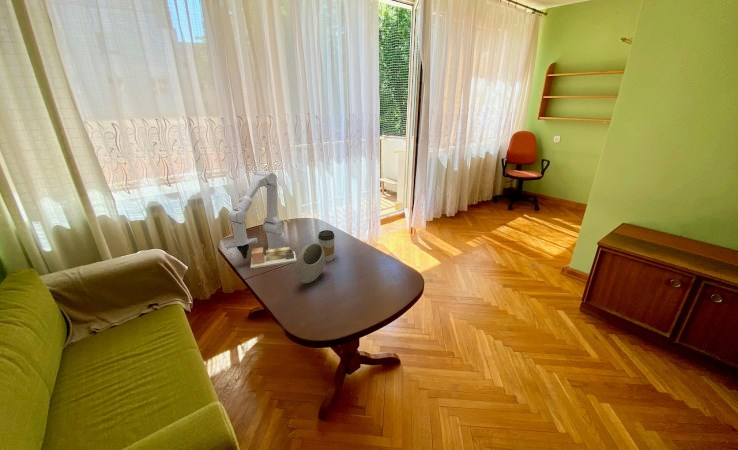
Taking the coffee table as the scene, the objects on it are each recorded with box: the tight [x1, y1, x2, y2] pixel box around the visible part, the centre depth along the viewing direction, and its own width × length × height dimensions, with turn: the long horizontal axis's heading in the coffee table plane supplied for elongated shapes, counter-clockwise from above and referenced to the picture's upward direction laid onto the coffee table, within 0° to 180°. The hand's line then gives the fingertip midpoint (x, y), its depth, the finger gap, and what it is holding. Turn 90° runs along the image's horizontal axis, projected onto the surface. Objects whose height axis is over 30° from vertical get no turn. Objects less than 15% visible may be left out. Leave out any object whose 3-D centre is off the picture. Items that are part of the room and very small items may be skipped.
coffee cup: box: [317, 229, 335, 263], centre depth 154 cm, size 8×8×15 cm
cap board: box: [250, 248, 297, 269], centre depth 154 cm, size 22×10×4 cm, turn 108°
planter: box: [294, 242, 326, 284], centre depth 134 cm, size 18×7×19 cm, turn 148°
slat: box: [265, 246, 291, 261], centre depth 154 cm, size 12×3×5 cm, turn 108°
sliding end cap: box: [251, 247, 265, 264], centre depth 151 cm, size 5×6×6 cm
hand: (244, 257), depth 150 cm, fingers closed
